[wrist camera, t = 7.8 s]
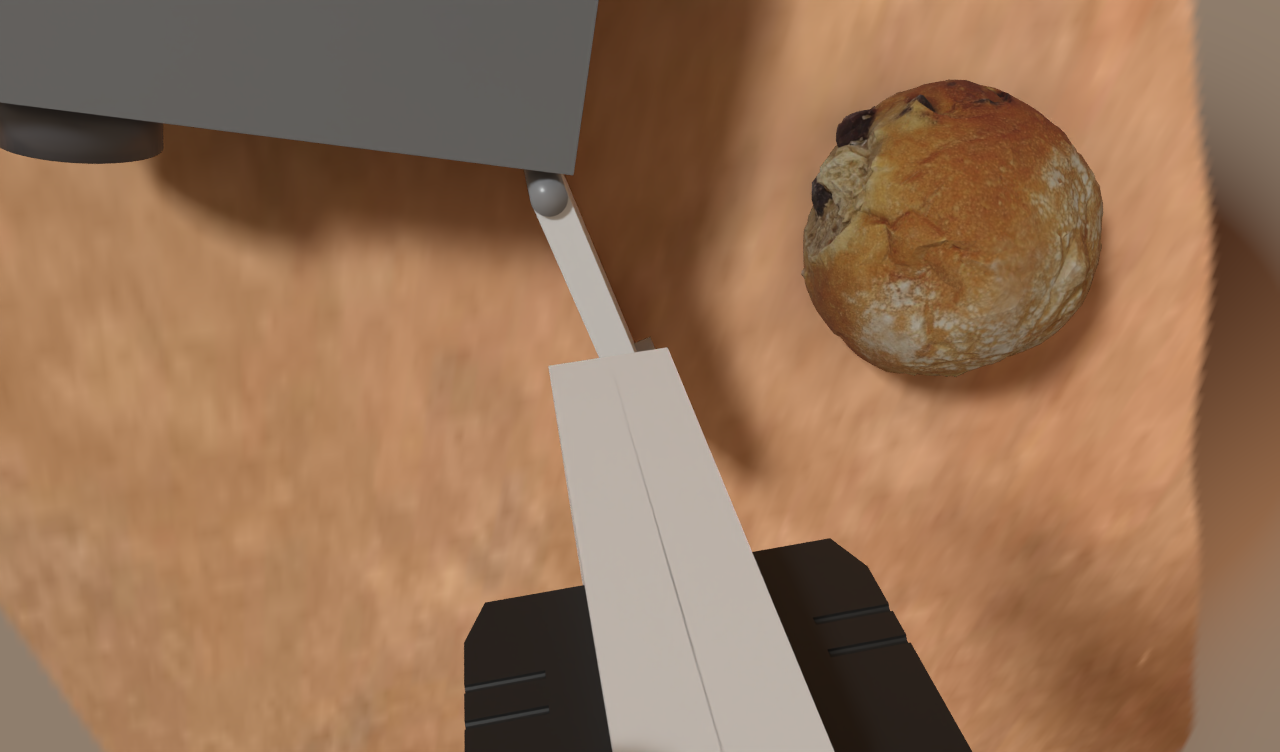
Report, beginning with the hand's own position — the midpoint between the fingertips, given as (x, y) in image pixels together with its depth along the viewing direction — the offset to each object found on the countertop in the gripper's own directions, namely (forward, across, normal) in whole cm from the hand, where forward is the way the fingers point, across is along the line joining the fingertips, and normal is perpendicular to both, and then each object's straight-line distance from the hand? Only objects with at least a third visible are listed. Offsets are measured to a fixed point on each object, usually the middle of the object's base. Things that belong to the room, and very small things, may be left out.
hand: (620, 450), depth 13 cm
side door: (+21, +1, -6) cm, 22 cm away
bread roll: (+22, +13, -6) cm, 26 cm away
